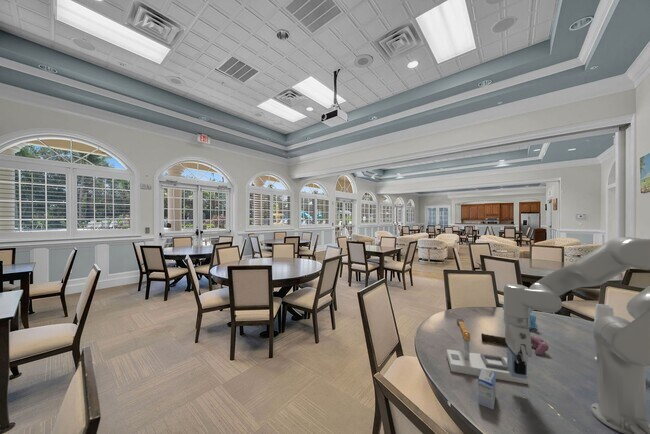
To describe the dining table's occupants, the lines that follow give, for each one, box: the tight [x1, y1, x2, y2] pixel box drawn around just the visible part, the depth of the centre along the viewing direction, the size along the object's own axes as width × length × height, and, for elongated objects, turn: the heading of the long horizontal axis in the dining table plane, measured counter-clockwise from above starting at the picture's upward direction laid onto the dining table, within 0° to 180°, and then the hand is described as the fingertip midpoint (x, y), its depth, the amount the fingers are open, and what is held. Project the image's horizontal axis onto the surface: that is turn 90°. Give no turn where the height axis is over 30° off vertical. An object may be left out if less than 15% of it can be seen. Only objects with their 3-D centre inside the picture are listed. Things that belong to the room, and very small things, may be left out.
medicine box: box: [477, 368, 497, 410], centre depth 84 cm, size 8×4×9 cm, turn 141°
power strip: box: [446, 339, 529, 385], centre depth 102 cm, size 12×26×11 cm, turn 71°
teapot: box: [502, 304, 538, 330], centre depth 143 cm, size 15×17×11 cm
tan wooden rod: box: [456, 318, 471, 342], centre depth 110 cm, size 3×17×3 cm, turn 160°
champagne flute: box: [593, 303, 615, 361], centre depth 106 cm, size 7×7×24 cm
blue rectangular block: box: [506, 347, 528, 379], centre depth 88 cm, size 4×4×8 cm
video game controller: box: [530, 335, 549, 356], centre depth 115 cm, size 10×5×7 cm, turn 170°
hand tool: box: [480, 333, 508, 346], centre depth 120 cm, size 19×4×5 cm, turn 61°
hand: (516, 368), depth 88 cm, fingers closed on blue rectangular block, 4 cm apart
